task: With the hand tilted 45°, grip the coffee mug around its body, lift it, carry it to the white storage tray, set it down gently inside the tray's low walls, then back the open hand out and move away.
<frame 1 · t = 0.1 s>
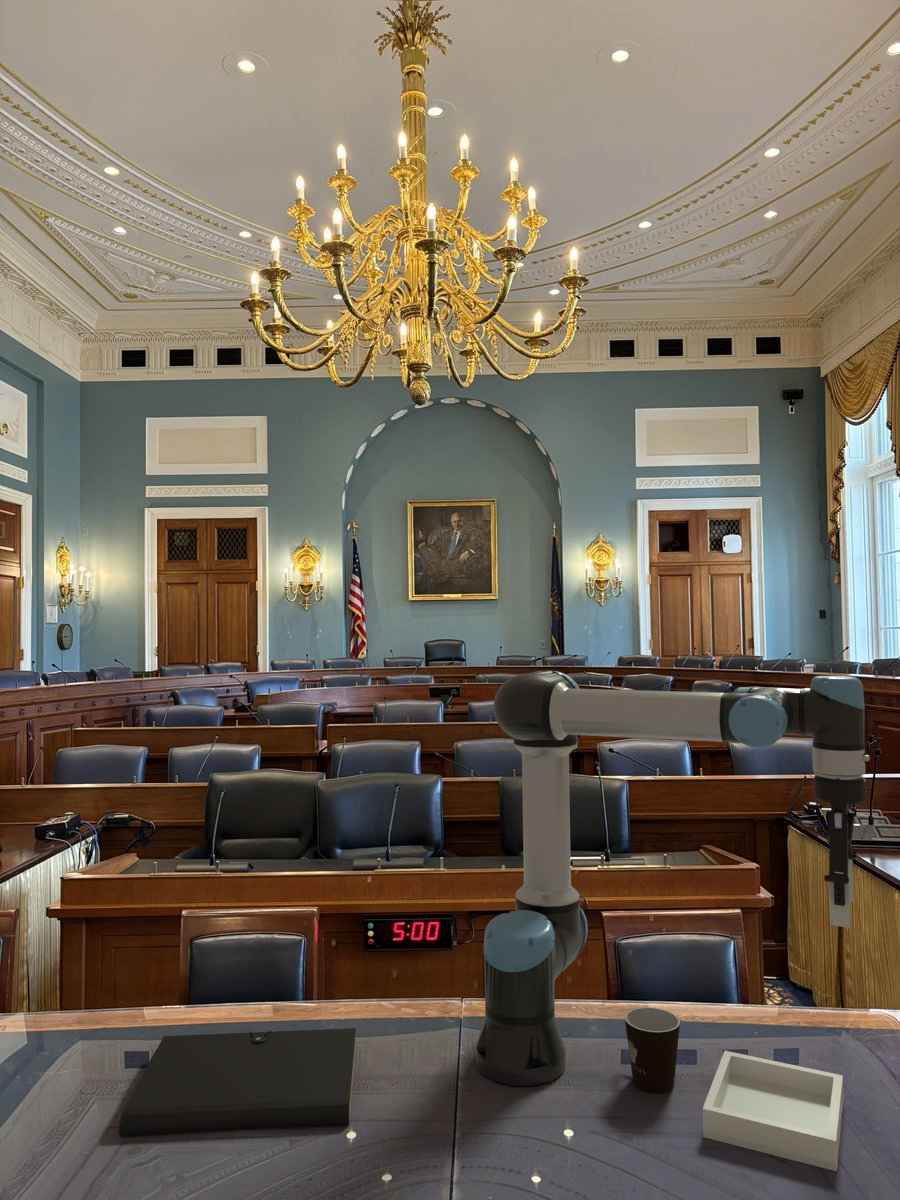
hand: (842, 912, 133), 28 cm above the table, tool pointing down, fingers open, 13 cm apart
coffee mug: (653, 1079, 138), on the table
white storage tray: (775, 1118, 126), on the table
file folder: (249, 1092, 136), on the table
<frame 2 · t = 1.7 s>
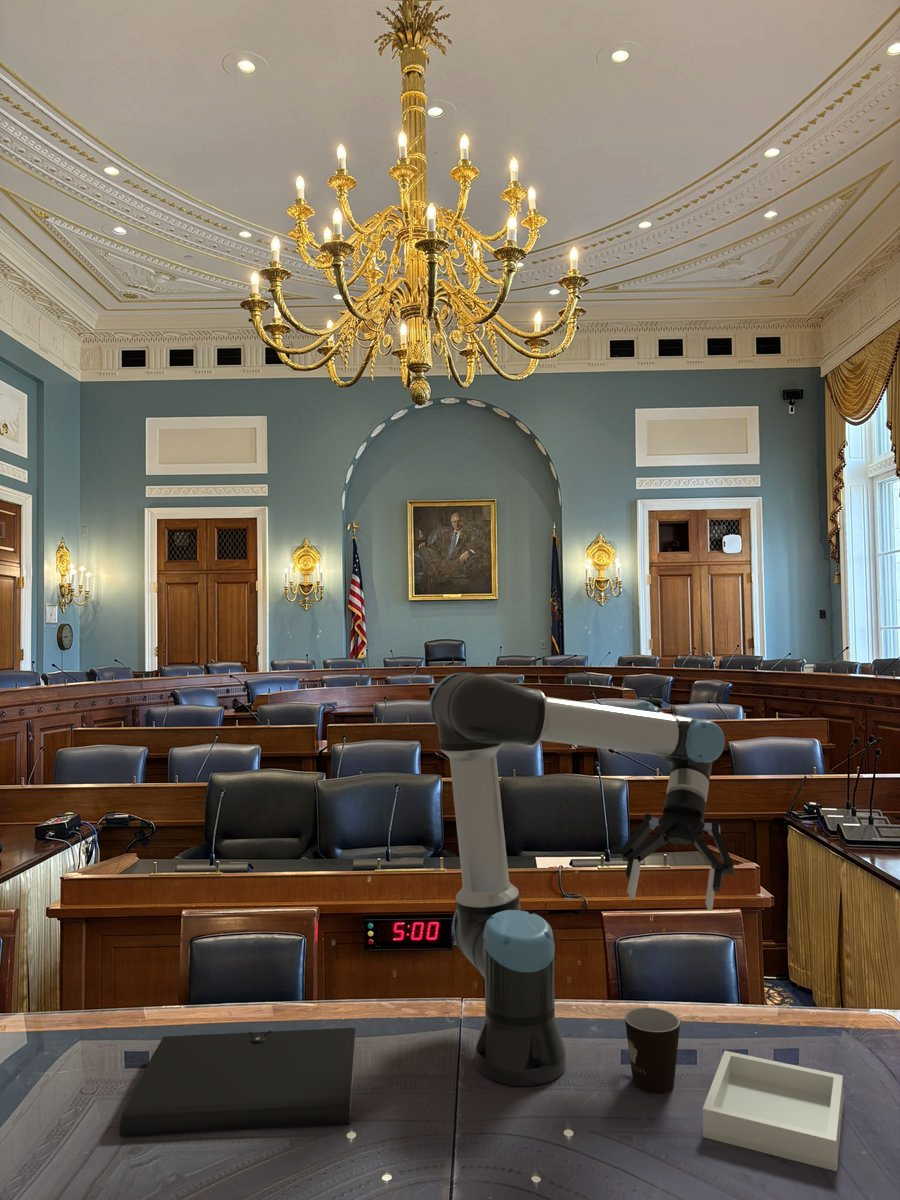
hand: (668, 901, 149), 25 cm above the table, tool tilted 45°, fingers open, 13 cm apart
nothing on the table moved.
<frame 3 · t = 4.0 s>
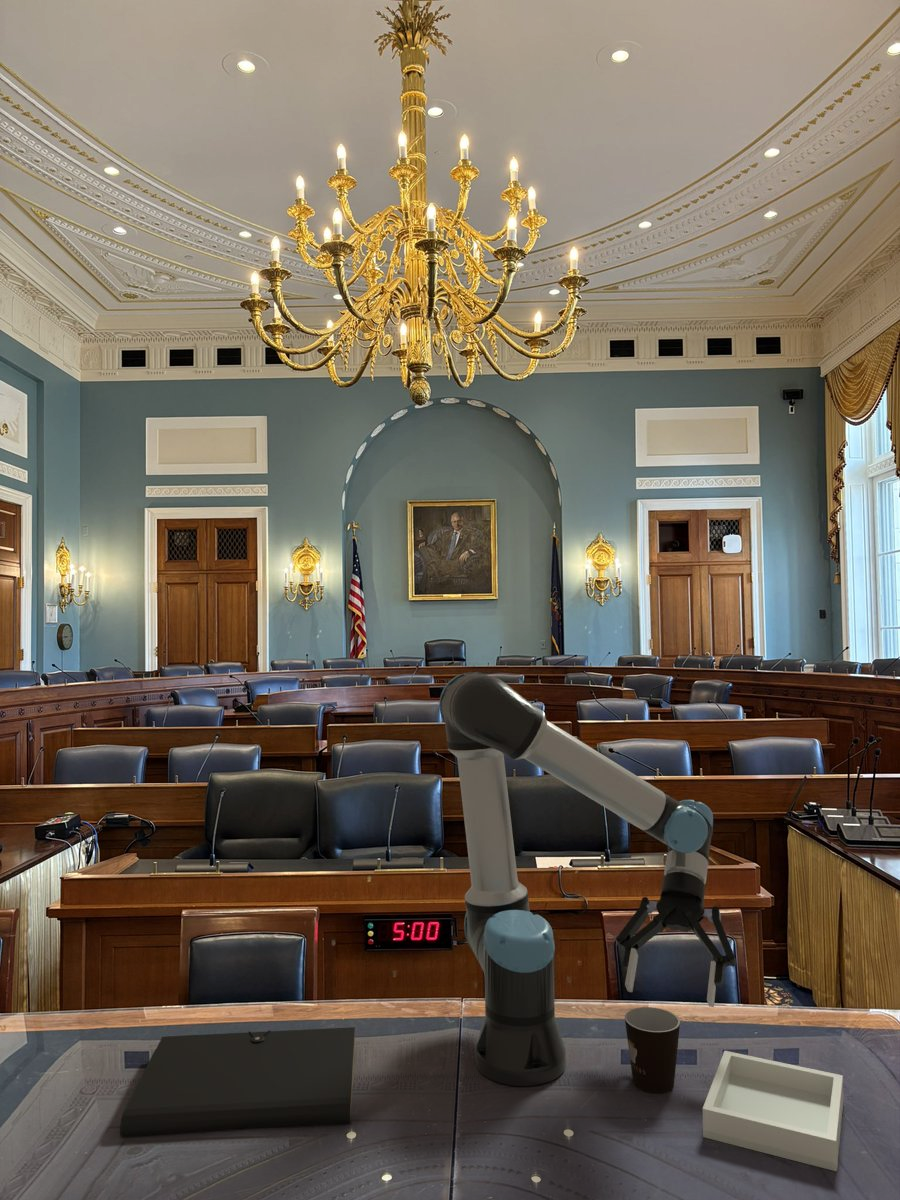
hand: (668, 996, 143), 11 cm above the table, tool tilted 45°, fingers open, 13 cm apart
nothing on the table moved.
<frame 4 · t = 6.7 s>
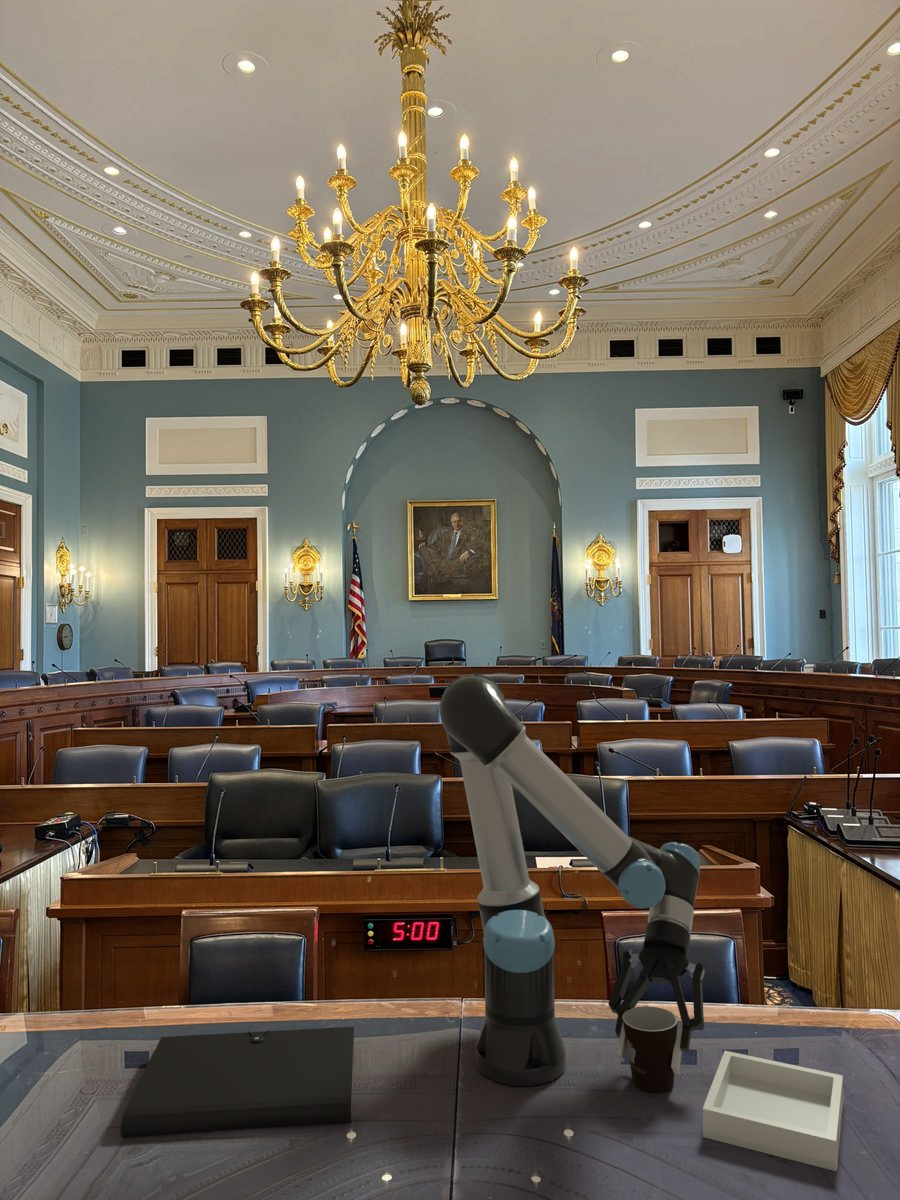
hand: (647, 1064, 135), 4 cm above the table, tool tilted 45°, fingers closed on coffee mug, 8 cm apart
coffee mug: (653, 1078, 138), on the table, touching gripper
everything else where it was.
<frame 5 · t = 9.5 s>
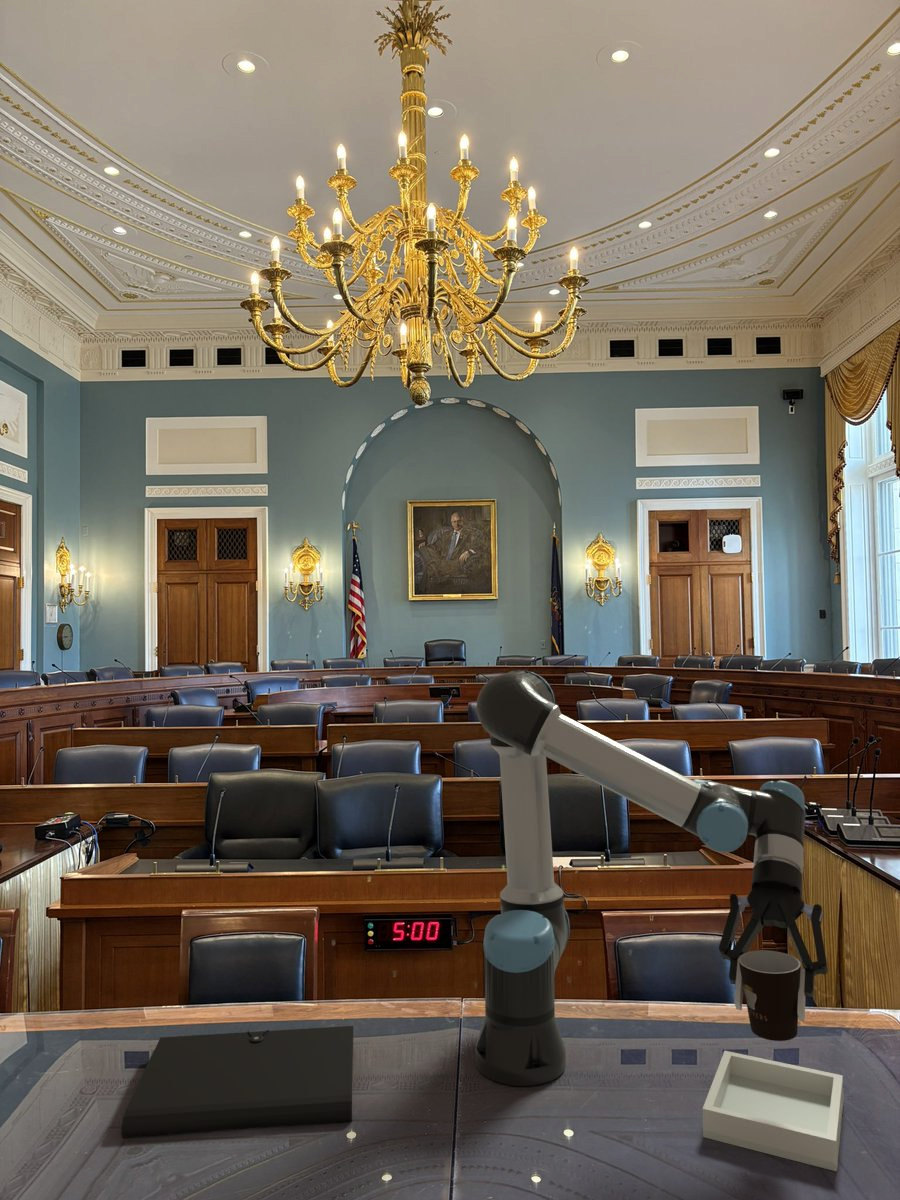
hand: (768, 1011, 124), 17 cm above the table, tool tilted 45°, fingers closed on coffee mug, 8 cm apart
coffee mug: (772, 1026, 127), point 13 cm above the table, touching gripper
everything else where it was.
when the fingers open (6 cm above the table, at t = 12.6 s): coffee mug moves 1 cm, resting on white storage tray.
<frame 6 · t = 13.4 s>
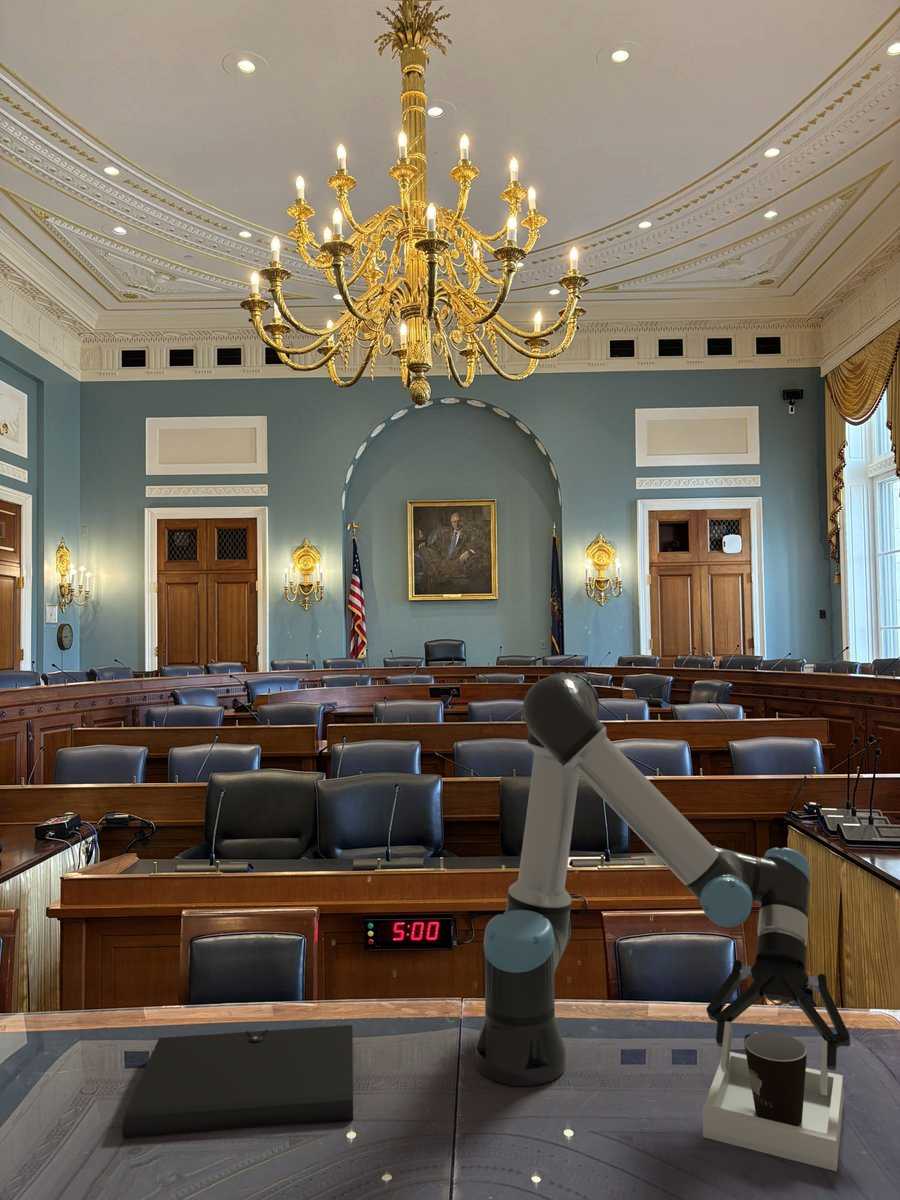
hand: (772, 1080, 124), 7 cm above the table, tool tilted 45°, fingers open, 13 cm apart
coffee mug: (777, 1111, 126), point 1 cm above the table, touching white storage tray
everything else where it was.
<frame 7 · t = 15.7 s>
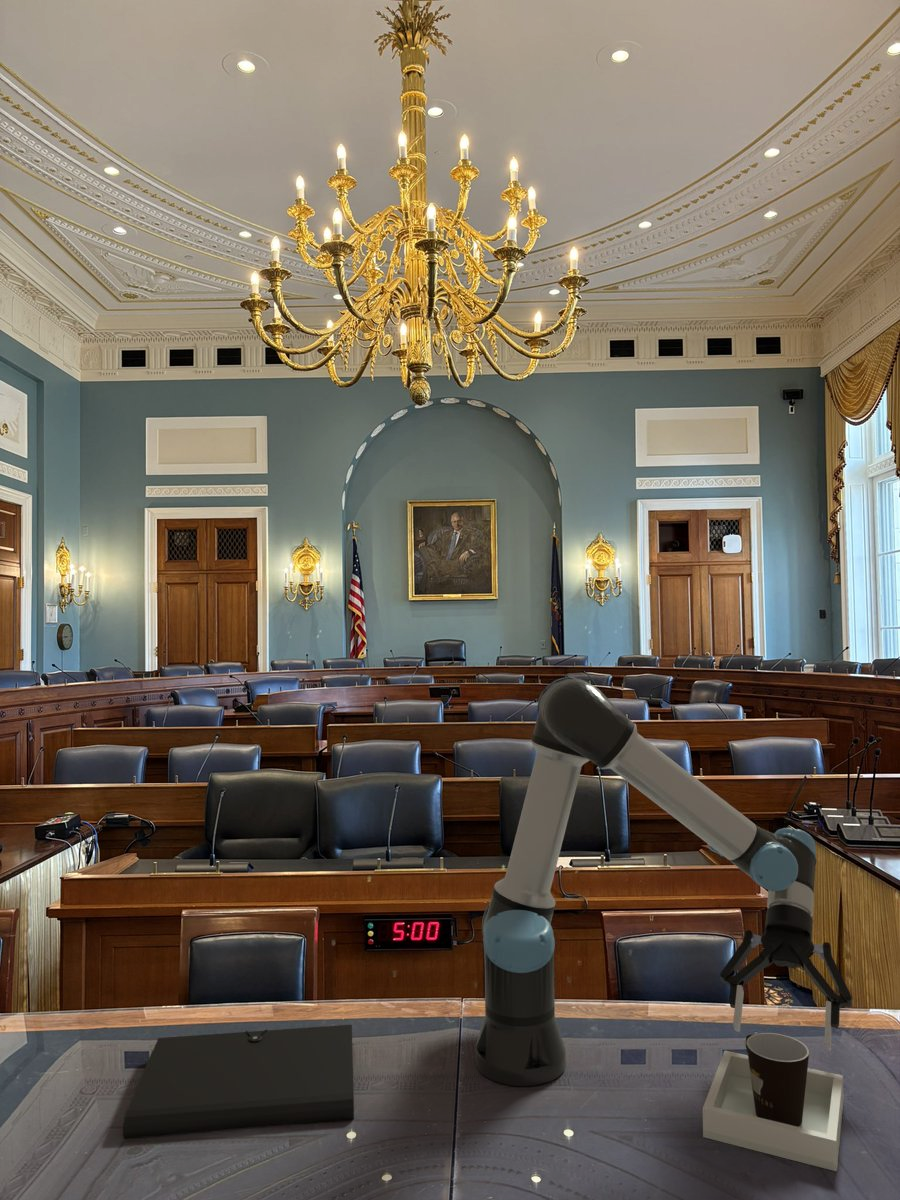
hand: (780, 1037, 136), 7 cm above the table, tool tilted 45°, fingers open, 13 cm apart
nothing on the table moved.
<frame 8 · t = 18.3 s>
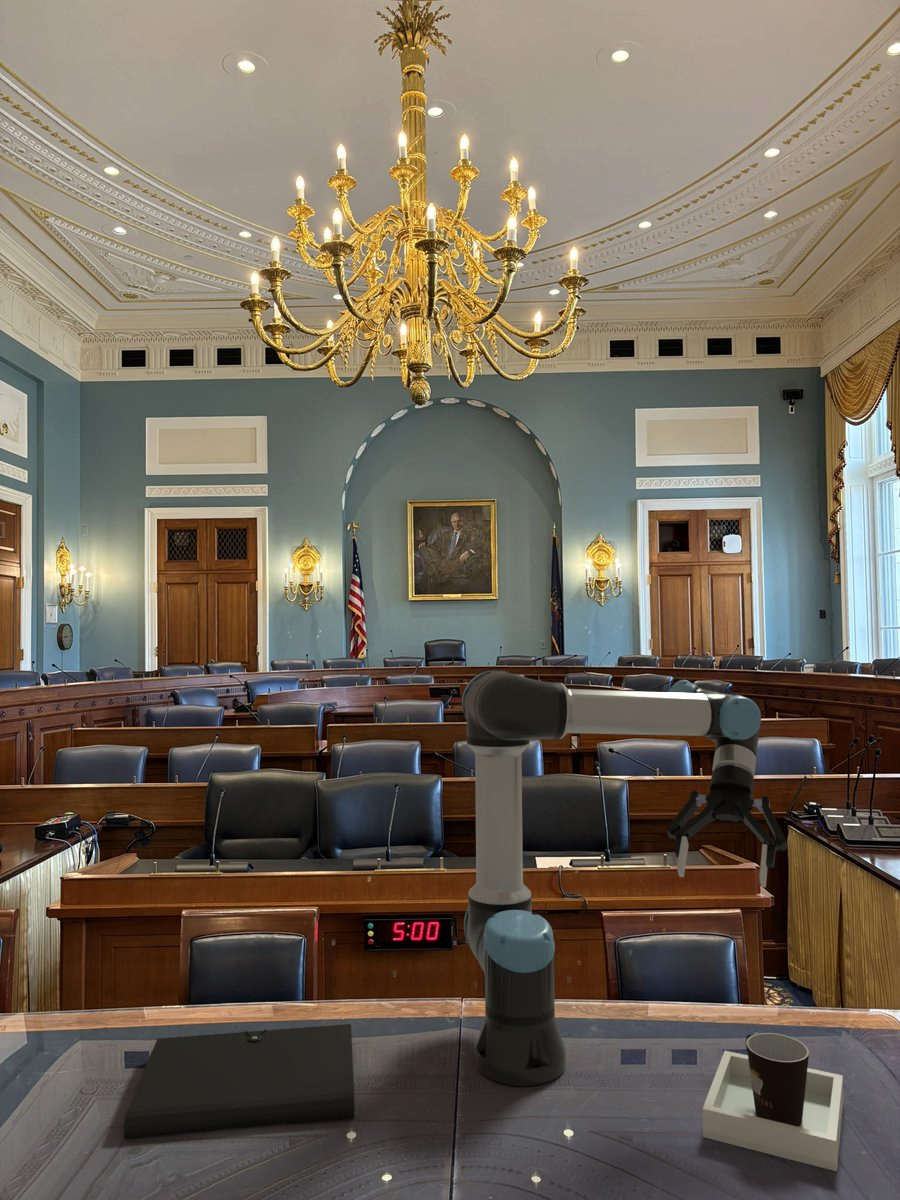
hand: (720, 878, 146), 30 cm above the table, tool tilted 45°, fingers open, 13 cm apart
nothing on the table moved.
at the end: coffee mug inside the target area on the white storage tray (0.5 cm from its centre), point 0.8 cm above the white storage tray's base; coffee mug tilted 0°; the gripper is holding nothing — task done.
